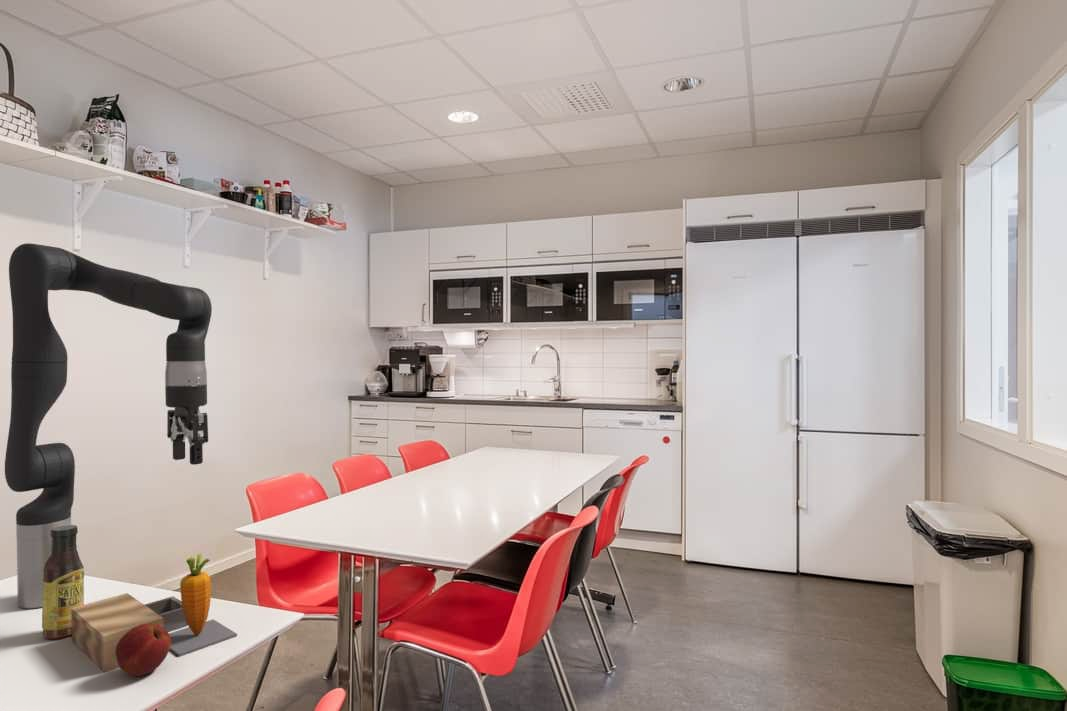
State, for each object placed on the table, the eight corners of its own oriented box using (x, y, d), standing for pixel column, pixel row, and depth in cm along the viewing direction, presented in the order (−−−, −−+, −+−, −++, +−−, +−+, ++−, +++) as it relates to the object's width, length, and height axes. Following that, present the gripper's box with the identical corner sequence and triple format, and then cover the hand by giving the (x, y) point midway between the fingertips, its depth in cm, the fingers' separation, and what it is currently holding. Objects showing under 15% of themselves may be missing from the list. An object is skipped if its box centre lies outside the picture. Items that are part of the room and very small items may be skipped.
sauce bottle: (61, 642, 114) (59, 533, 114) (33, 639, 115) (31, 532, 115) (93, 626, 121) (91, 523, 120) (66, 624, 122) (64, 522, 122)
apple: (148, 685, 99) (147, 635, 99) (103, 683, 100) (102, 633, 100) (179, 662, 106) (178, 615, 106) (136, 660, 107) (136, 614, 107)
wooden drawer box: (71, 640, 115) (71, 608, 115) (169, 611, 127) (169, 581, 127) (104, 672, 103) (103, 636, 103) (208, 636, 116) (207, 604, 116)
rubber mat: (157, 639, 115) (156, 637, 115) (213, 621, 122) (213, 619, 122) (179, 656, 108) (179, 654, 108) (237, 635, 116) (237, 633, 116)
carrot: (199, 627, 119) (196, 549, 118) (218, 631, 117) (216, 551, 117) (175, 639, 114) (172, 557, 114) (195, 643, 112) (192, 560, 112)
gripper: (153, 383, 131) (154, 460, 131) (180, 385, 122) (182, 468, 122) (191, 381, 136) (192, 455, 137) (220, 383, 127) (221, 462, 127)
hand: (187, 461), depth 129 cm, fingers open, 8 cm apart
